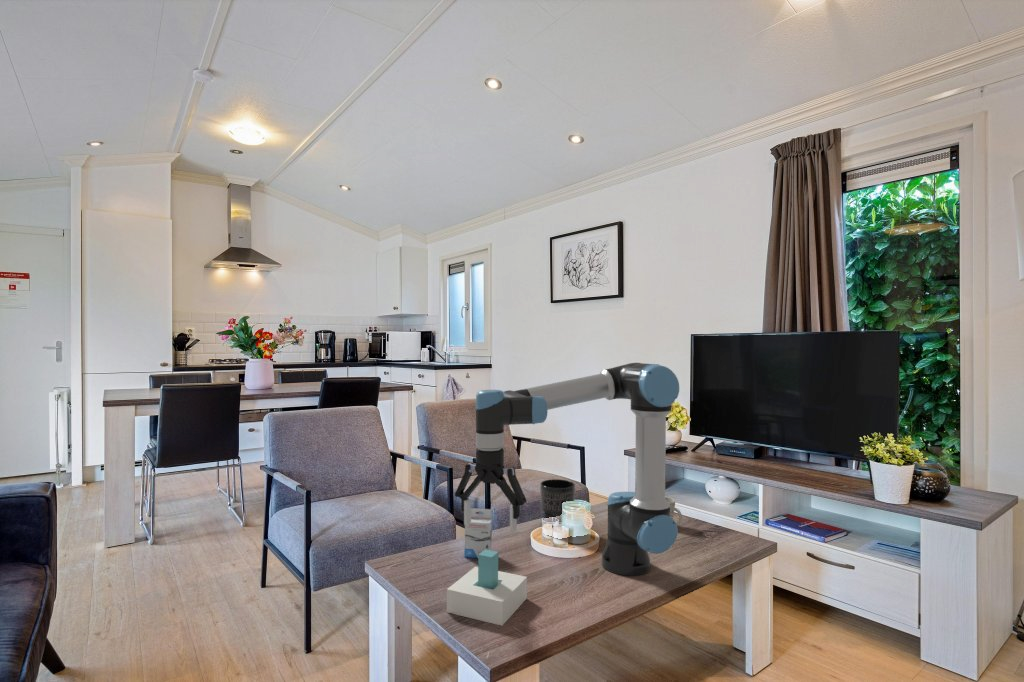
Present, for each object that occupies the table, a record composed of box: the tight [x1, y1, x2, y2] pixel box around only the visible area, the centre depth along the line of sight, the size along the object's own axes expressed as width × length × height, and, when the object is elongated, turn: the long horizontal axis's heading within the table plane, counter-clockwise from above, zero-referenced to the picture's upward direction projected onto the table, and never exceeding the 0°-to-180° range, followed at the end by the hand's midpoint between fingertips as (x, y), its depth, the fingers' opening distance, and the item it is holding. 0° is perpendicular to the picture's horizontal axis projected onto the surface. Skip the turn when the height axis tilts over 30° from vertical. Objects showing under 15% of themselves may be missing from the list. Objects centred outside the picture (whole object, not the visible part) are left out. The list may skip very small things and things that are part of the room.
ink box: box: [463, 507, 493, 559], centre depth 183 cm, size 9×5×15 cm, turn 84°
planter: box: [539, 478, 576, 519], centre depth 207 cm, size 13×13×18 cm
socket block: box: [446, 566, 528, 626], centre depth 149 cm, size 16×16×6 cm
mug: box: [665, 496, 683, 526], centre depth 213 cm, size 8×13×10 cm, turn 40°
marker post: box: [477, 549, 499, 590], centre depth 149 cm, size 4×4×14 cm
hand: (490, 526), depth 149 cm, fingers open, 13 cm apart
